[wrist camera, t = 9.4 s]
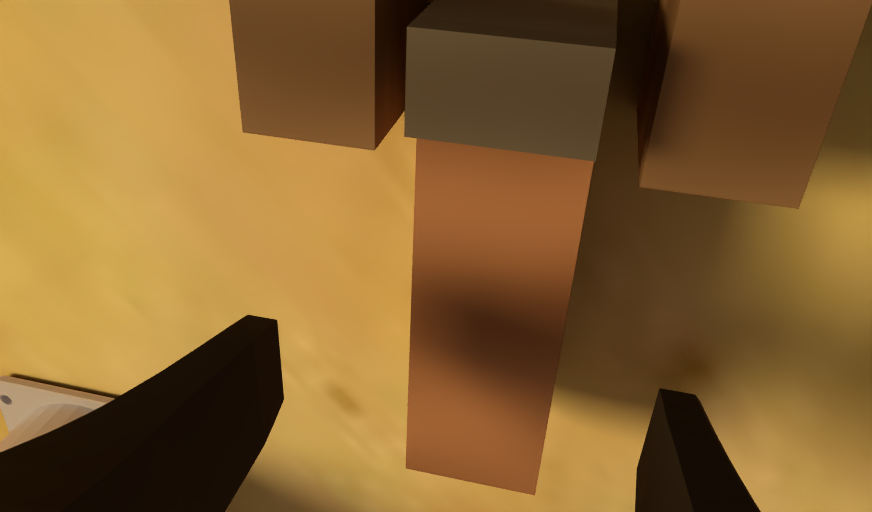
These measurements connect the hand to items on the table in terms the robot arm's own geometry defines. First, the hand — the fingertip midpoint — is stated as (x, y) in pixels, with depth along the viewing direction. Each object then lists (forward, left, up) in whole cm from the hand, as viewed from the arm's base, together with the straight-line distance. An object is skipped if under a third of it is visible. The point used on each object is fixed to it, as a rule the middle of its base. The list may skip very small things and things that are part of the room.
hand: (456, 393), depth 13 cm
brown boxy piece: (0, 0, -8) cm, 8 cm away
